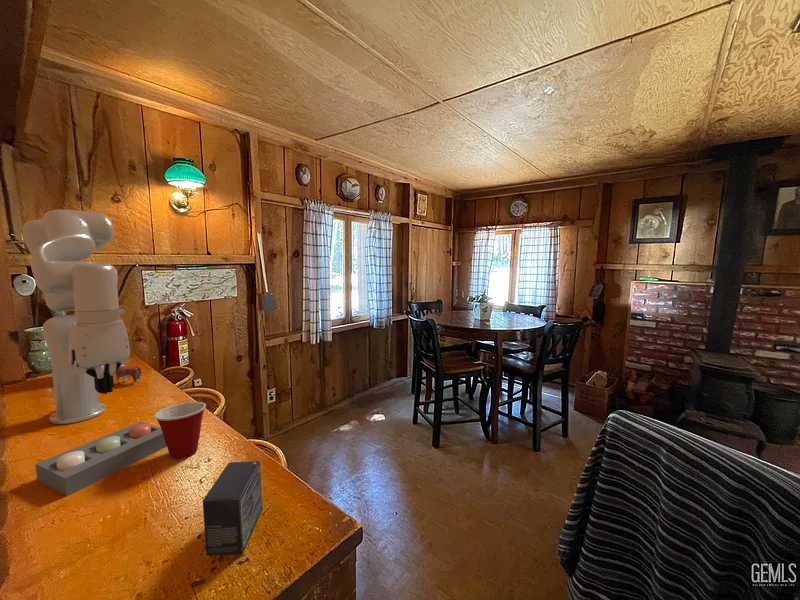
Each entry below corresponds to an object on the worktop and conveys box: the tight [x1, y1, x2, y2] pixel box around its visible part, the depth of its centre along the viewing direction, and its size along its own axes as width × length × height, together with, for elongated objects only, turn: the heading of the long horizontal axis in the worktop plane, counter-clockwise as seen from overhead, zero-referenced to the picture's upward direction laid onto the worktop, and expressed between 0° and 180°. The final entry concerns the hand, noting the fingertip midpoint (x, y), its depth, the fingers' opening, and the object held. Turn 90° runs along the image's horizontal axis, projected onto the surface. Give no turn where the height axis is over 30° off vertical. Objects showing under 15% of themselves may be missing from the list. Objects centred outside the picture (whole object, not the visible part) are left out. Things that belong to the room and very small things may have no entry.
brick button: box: [129, 422, 152, 439], centre depth 86 cm, size 4×4×5 cm
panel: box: [35, 421, 167, 497], centre depth 80 cm, size 12×21×4 cm, turn 158°
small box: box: [202, 460, 264, 557], centre depth 60 cm, size 11×6×10 cm, turn 5°
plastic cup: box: [154, 401, 207, 461], centre depth 83 cm, size 11×11×12 cm
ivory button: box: [56, 451, 85, 472], centre depth 73 cm, size 4×4×5 cm
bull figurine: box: [114, 364, 142, 386], centre depth 129 cm, size 4×13×8 cm, turn 79°
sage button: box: [96, 436, 121, 454], centre depth 80 cm, size 4×4×5 cm
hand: (105, 391), depth 79 cm, fingers closed
